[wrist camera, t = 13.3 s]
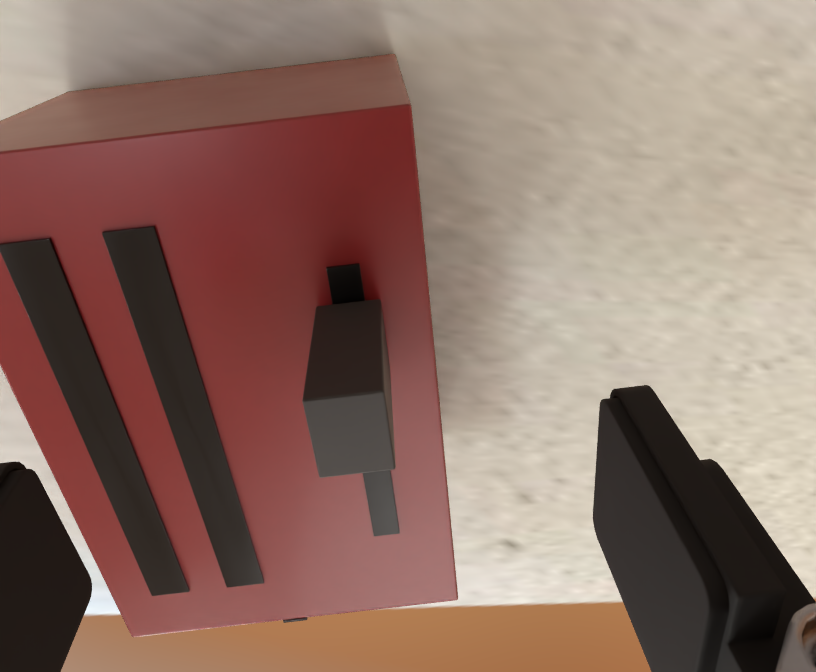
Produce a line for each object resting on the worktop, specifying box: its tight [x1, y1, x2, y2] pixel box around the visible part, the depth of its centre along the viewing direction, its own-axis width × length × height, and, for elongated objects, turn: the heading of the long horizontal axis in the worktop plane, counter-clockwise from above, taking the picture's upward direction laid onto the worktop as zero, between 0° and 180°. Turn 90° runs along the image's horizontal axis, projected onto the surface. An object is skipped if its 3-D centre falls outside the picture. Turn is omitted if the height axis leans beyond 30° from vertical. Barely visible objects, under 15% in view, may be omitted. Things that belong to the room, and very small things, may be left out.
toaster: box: [0, 54, 458, 637], centre depth 22 cm, size 16×11×9 cm
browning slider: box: [302, 299, 396, 478], centre depth 15 cm, size 2×2×4 cm
